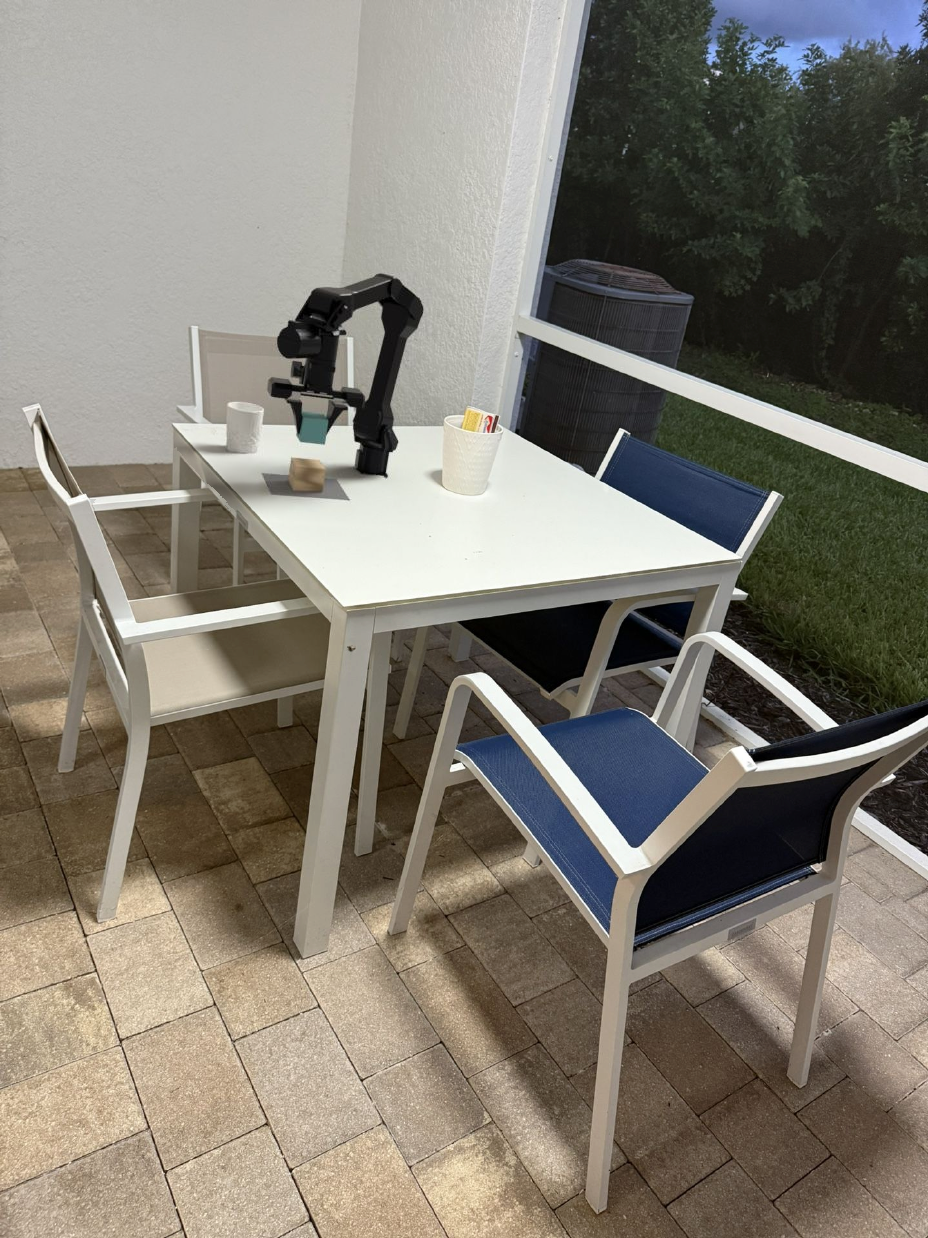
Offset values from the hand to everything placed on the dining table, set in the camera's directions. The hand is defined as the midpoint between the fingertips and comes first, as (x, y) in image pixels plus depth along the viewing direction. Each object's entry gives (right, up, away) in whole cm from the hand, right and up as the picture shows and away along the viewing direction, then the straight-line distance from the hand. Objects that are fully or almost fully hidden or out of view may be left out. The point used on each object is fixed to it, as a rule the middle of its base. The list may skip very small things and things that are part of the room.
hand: (311, 434), depth 185 cm
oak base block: (-2, -10, +4) cm, 11 cm away
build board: (-2, -10, +4) cm, 11 cm away
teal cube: (0, -1, 0) cm, 1 cm away
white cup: (-19, 0, +20) cm, 27 cm away
